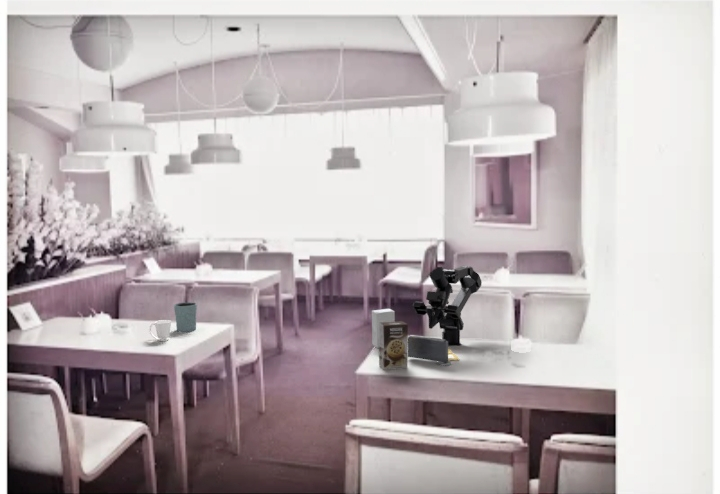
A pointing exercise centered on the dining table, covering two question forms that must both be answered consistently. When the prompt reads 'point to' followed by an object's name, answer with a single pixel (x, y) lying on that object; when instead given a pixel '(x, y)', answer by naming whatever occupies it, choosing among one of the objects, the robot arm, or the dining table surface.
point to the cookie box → (393, 345)
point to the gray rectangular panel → (428, 348)
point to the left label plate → (452, 357)
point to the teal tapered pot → (185, 316)
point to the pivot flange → (444, 363)
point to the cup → (162, 329)
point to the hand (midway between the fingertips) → (430, 328)
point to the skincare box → (378, 317)
